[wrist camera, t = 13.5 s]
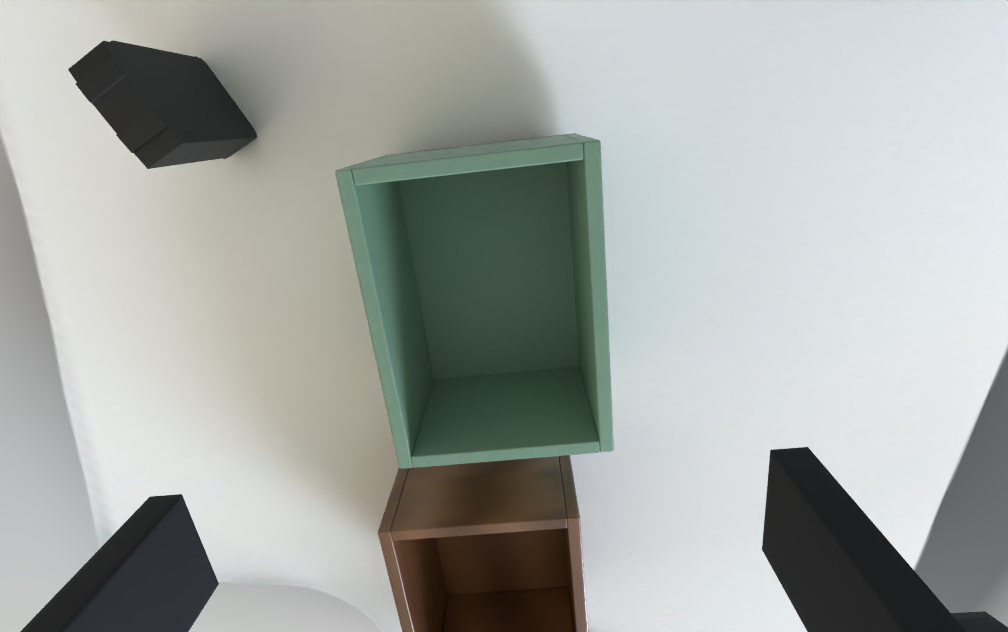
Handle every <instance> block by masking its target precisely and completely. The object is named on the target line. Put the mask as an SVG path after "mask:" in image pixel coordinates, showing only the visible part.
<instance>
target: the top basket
mask: <svg viewBox="0 0 1008 632" xmlns="http://www.w3.org/2000/svg"><path fill="white" fill-rule="evenodd" d="M335 173H336V178H337V182H338V187H339V191H340V196H341V200H342V205H343V210H344V214H345V219H346V223H347V228H348V233H349V237H350V242H351V246H352V251H353V256H354V260H355V265H356V269H357V274H358V279H359V283H360V288H361V292H362V297H363V301H364V306H365V311H366V315H367V320H368V324H369V329H370V334H371V338H372V343H373V347H374V352H375V357H376V361H377V366H378V370H379V375H380V380H381V384H382V389H383V393H384V398H385V402H386V407H387V412H388V416H389V421H390V425H391V430H392V435H393V439H394V444H395V448H396V453H397V458H398V462H399V467H400V468H401V469H402V468H412V467H413V468H416V467H429V466H441V465H453V464H465V463H478V462H490V461H502V460H514V459H527V458H539V457H551V456H563V455H575V454H588V453H599V452H610V451H613V450H614V445H613V422H612V399H611V376H610V353H609V329H608V306H607V283H606V260H605V237H604V214H603V191H602V168H601V145H600V141H599V140H596V139H592V138H589V137H585V136H582V135H578V134H575V133H574V134H566V135H557V136H548V137H540V138H531V139H523V140H514V141H505V142H497V143H488V144H479V145H471V146H462V147H454V148H445V149H436V150H428V151H419V152H410V153H402V154H393V155H385V156H382V157H379V158H375V159H372V160H369V161H365V162H362V163H359V164H355V165H352V166H349V167H346V168H342V169H339V170H336V172H335Z"/></svg>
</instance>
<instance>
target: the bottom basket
mask: <svg viewBox="0 0 1008 632" xmlns="http://www.w3.org/2000/svg"><path fill="white" fill-rule="evenodd" d="M378 535H379V539H380V543H381V547H382V551H383V555H384V559H385V563H386V567H387V571H388V575H389V579H390V583H391V587H392V591H393V595H394V599H395V603H396V607H397V611H398V615H399V619H400V623H401V627H402V631H403V632H588V621H587V608H586V594H585V581H584V567H583V553H582V540H581V526H580V515H579V509H578V503H577V497H576V491H575V485H574V479H573V472H572V466H571V460H570V455H563V456H551V457H539V458H527V459H514V460H502V461H490V462H478V463H465V464H453V465H441V466H429V467H416V468H413V467H412V468H402V469H401V468H400V467H399V470H398V473H397V476H396V479H395V482H394V485H393V488H392V491H391V494H390V497H389V500H388V503H387V506H386V509H385V512H384V515H383V518H382V521H381V524H380V527H379V531H378Z"/></svg>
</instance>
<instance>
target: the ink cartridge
mask: <svg viewBox="0 0 1008 632" xmlns="http://www.w3.org/2000/svg"><path fill="white" fill-rule="evenodd" d="M68 70H69V72H70V73H71V74H72V76H73V77H74V79H75V80H76V82H77V83H76V85H77V86H78V88H79V89H80V90H81V91H82V93H83V94H84V95H85V97H86V98H87V99H88V100H89V102H91V103H92V104H93V105H94V106H95V107H96V109H97V110H98V111H99V112H100V113H101V115H102V116H103V117H104V118H105V120H106V121H107V122H108V123H109V125H110V126H111V127H112V128H113V130H114V131H115V132H116V133H117V136H118V138H119V139H120V140H121V141H122V142H123V143H124V145H125V146H126V147H127V148H128V149H129V150H130V151H131V153H134V154H135V155H136V156H137V157H138V158H139V159H140V161H141V162H142V163H143V164H144V165H145V166H146V167H147V169H150V168H157V167H164V166H171V165H178V164H185V163H192V162H199V161H206V160H213V159H220V158H224V159H226V158H228V157H230V156H231V155H233V154H234V153H235V152H237V151H238V150H240V149H241V148H242V147H244V146H245V145H247V144H248V143H250V142H251V141H252V140H254V139H255V138H257V135H256V132H255V130H254V128H253V127H252V126H251V124H250V123H249V121H248V120H247V119H246V117H245V116H244V115H243V113H242V112H241V110H240V109H239V108H238V106H237V105H236V104H235V102H234V101H233V99H232V98H231V97H230V95H229V94H228V93H227V91H226V90H225V89H224V87H223V86H222V84H221V83H220V82H219V80H218V79H217V78H216V76H215V75H214V74H213V72H212V71H211V69H210V68H209V67H208V65H207V64H206V63H205V62H204V61H203V60H202V59H201V58H198V57H196V56H195V57H193V56H188V55H183V54H178V53H173V52H168V51H163V50H158V49H153V48H148V47H143V46H138V45H133V44H128V43H123V42H118V41H113V40H112V41H111V42H107V41H102V42H101V43H100V44H99V45H98V46H96V47H95V48H94V49H93V50H91V51H90V52H89V53H88V54H87V55H85V56H84V57H83V58H82V59H80V60H79V61H78V62H77V63H75V64H74V65H73V66H72V67H71V68H69V69H68Z"/></svg>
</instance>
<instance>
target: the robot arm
mask: <svg viewBox="0 0 1008 632" xmlns="http://www.w3.org/2000/svg"><path fill="white" fill-rule="evenodd" d="M762 550H763V552H764V554H765V556H766V557H767V559H768V561H769V563H770V565H771V566H772V568H773V570H774V572H775V574H776V575H777V577H778V579H779V581H780V583H781V584H782V586H783V588H784V590H785V592H786V593H787V595H788V597H789V599H790V601H791V603H792V604H793V606H794V608H795V610H796V612H797V613H798V615H799V617H800V619H801V621H802V622H803V624H804V626H805V628H806V630H807V631H808V632H1008V627H1006V626H1005V625H1003V624H1002V623H1001V622H999V621H998V620H996V619H995V618H994V617H992V616H991V615H989V614H988V613H986V612H968V613H950V612H949V611H948V610H947V609H946V607H945V606H944V605H943V604H942V603H941V602H940V601H939V599H938V598H937V597H936V596H935V595H934V593H933V592H932V591H931V590H930V589H929V588H928V586H927V585H926V584H925V583H924V582H923V581H922V579H921V578H920V577H919V576H918V575H917V574H916V573H915V571H914V570H913V569H912V568H911V567H910V566H909V564H908V563H907V562H906V561H905V560H904V559H903V557H902V556H901V555H900V554H899V553H898V552H897V550H896V549H895V548H894V547H893V546H892V545H891V543H890V542H889V541H888V540H887V539H886V538H885V536H884V535H883V534H882V533H881V532H880V531H879V529H878V528H877V527H876V526H875V525H874V524H873V522H872V521H871V520H870V519H869V518H868V517H867V515H866V514H865V513H864V512H863V511H862V510H861V508H860V507H859V506H858V505H857V504H856V503H855V502H854V500H853V499H852V498H851V497H850V496H849V495H848V493H847V492H846V491H845V490H844V489H843V488H842V486H841V485H840V484H839V483H838V482H837V481H836V479H835V478H834V477H833V476H832V475H831V474H830V472H829V471H828V470H827V469H826V468H825V467H824V465H823V464H822V463H821V462H820V461H819V460H818V458H817V457H816V456H815V455H814V454H813V453H812V451H811V450H810V449H809V448H808V447H803V448H790V449H777V450H771V451H770V463H769V474H768V486H767V498H766V510H765V522H764V534H763V546H762ZM218 584H219V583H218V581H217V579H216V576H215V574H214V571H213V569H212V566H211V564H210V562H209V559H208V557H207V554H206V552H205V549H204V547H203V545H202V542H201V540H200V537H199V535H198V533H197V530H196V528H195V525H194V523H193V520H192V518H191V516H190V513H189V511H188V508H187V506H186V504H185V501H184V499H183V496H182V494H180V495H167V496H153V497H149V498H148V499H147V500H146V501H145V502H144V504H143V505H142V506H141V507H140V508H139V509H138V510H137V511H136V512H135V513H134V514H133V515H132V516H131V517H130V518H129V519H128V520H127V521H126V522H125V523H124V524H123V525H122V526H121V527H120V528H119V530H118V531H117V532H116V533H115V534H114V535H113V536H112V537H111V538H110V539H109V540H108V541H107V542H106V543H105V544H104V545H103V546H102V547H101V548H100V549H99V550H98V551H97V552H96V553H95V555H94V556H93V557H92V558H91V559H90V560H89V561H88V562H87V563H86V564H85V565H84V566H83V567H82V568H81V569H80V570H79V571H78V572H77V573H76V575H74V576H73V578H71V580H70V581H69V582H68V583H67V584H66V585H65V586H64V587H63V588H62V589H61V590H60V591H59V592H58V593H57V594H56V595H55V596H54V597H53V598H52V599H51V600H50V601H49V602H48V604H47V605H46V606H45V607H44V608H43V609H42V610H41V611H40V612H39V613H38V614H37V615H36V616H35V617H34V618H33V619H32V620H31V621H30V622H29V623H28V624H27V625H26V626H25V627H24V628H23V630H22V631H21V632H188V631H189V630H190V628H191V626H192V625H193V623H194V622H195V620H196V619H197V617H198V616H199V614H200V612H201V611H202V609H203V608H204V606H205V604H206V603H207V601H208V600H209V598H210V597H211V595H212V594H213V592H214V591H215V589H216V587H217V586H218Z"/></svg>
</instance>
